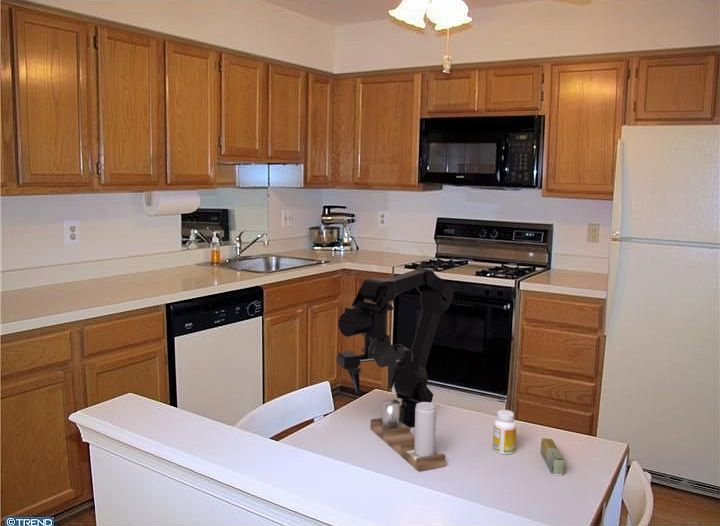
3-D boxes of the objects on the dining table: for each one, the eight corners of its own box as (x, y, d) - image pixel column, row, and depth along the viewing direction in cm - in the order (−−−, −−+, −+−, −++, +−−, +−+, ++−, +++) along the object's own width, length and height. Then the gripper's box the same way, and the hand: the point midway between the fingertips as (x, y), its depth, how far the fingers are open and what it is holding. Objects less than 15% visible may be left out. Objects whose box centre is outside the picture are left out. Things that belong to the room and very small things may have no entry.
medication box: (563, 476, 143) (565, 459, 143) (551, 475, 143) (553, 459, 143) (550, 453, 155) (552, 437, 154) (539, 452, 155) (540, 437, 155)
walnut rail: (370, 429, 167) (370, 419, 167) (394, 425, 170) (394, 415, 170) (418, 471, 144) (419, 460, 143) (445, 466, 146) (445, 455, 146)
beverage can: (437, 457, 147) (439, 408, 146) (417, 459, 146) (419, 410, 145) (430, 449, 152) (432, 401, 150) (411, 450, 151) (412, 402, 149)
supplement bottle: (517, 448, 157) (519, 410, 156) (512, 457, 152) (514, 418, 151) (495, 444, 159) (497, 407, 158) (490, 452, 154) (492, 414, 153)
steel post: (394, 423, 167) (394, 398, 166) (402, 430, 163) (402, 404, 162) (378, 426, 165) (378, 400, 164) (386, 432, 161) (386, 406, 160)
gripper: (354, 341, 146) (352, 406, 148) (424, 334, 153) (422, 395, 156) (335, 329, 156) (335, 390, 158) (403, 323, 163) (401, 381, 166)
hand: (374, 390), depth 159 cm, fingers open, 9 cm apart
